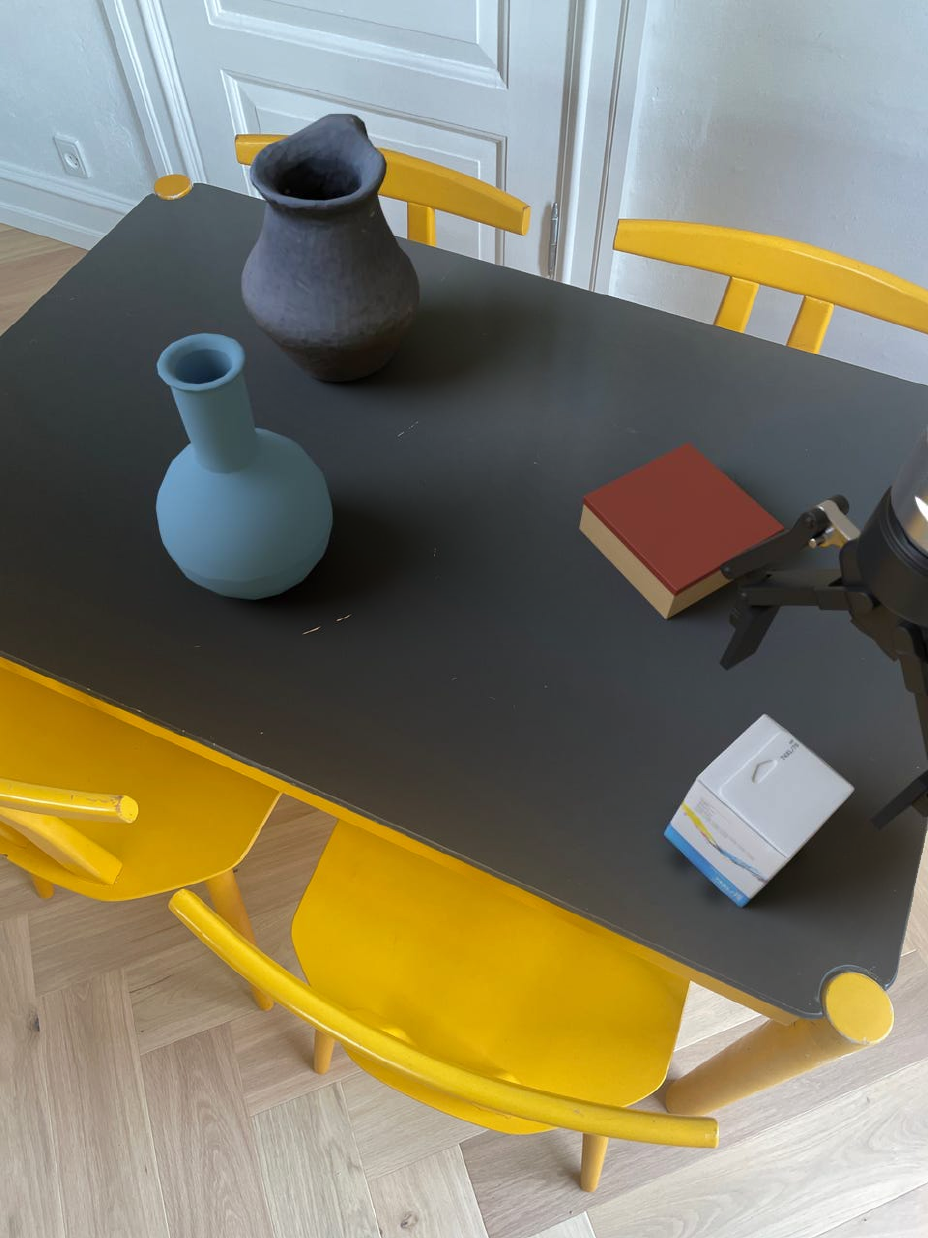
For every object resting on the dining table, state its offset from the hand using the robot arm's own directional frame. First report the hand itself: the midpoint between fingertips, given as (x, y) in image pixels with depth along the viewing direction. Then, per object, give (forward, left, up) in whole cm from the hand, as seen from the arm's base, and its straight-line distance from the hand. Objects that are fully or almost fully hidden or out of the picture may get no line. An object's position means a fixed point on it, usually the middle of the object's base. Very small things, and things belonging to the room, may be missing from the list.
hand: (808, 732), depth 57 cm
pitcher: (+73, -3, -19) cm, 75 cm away
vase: (+49, +20, -19) cm, 56 cm away
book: (+27, -17, -19) cm, 37 cm away
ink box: (0, 0, -19) cm, 19 cm away
